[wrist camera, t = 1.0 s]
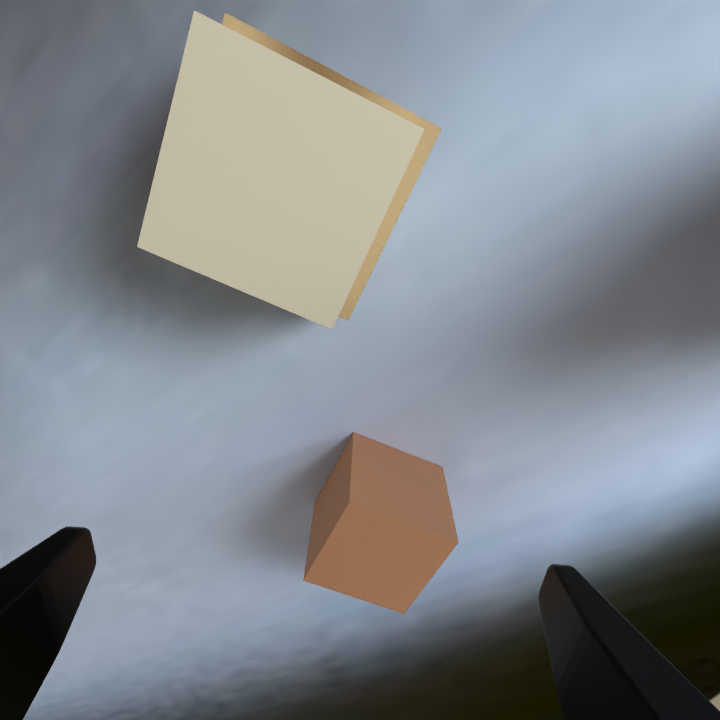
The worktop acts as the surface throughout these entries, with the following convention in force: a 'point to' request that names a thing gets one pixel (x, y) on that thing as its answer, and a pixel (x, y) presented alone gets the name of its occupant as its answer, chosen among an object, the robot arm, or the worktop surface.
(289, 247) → the cream block
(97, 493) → the worktop surface
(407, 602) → the terracotta block
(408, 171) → the oak base block
